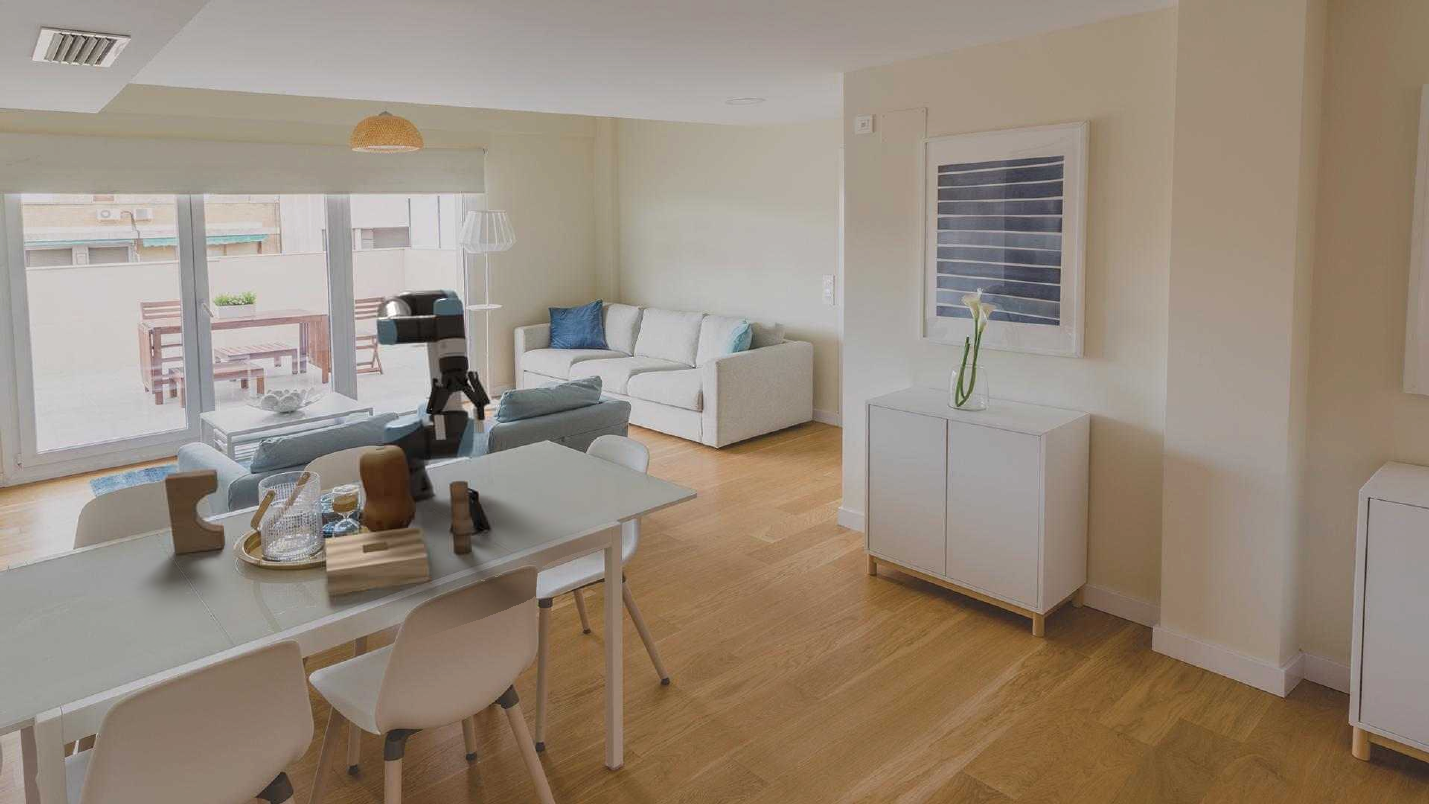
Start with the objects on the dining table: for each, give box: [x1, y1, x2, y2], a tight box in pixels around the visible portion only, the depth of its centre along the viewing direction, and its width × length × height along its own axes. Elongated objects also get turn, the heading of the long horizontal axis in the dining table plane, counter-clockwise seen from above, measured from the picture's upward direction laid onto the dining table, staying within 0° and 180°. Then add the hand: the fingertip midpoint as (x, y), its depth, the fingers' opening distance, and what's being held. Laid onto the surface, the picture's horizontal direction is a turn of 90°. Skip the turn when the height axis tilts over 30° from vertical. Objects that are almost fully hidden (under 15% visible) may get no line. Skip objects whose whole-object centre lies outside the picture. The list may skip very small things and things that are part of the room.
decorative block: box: [164, 468, 226, 555], centre depth 239 cm, size 11×6×20 cm, turn 111°
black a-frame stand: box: [449, 487, 492, 536], centre depth 252 cm, size 9×6×12 cm, turn 135°
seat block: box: [324, 526, 430, 597], centre depth 226 cm, size 22×22×6 cm
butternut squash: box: [358, 445, 417, 533], centre depth 246 cm, size 14×13×25 cm
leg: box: [449, 480, 473, 555], centre depth 237 cm, size 4×4×18 cm
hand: (460, 436), depth 247 cm, fingers open, 13 cm apart
